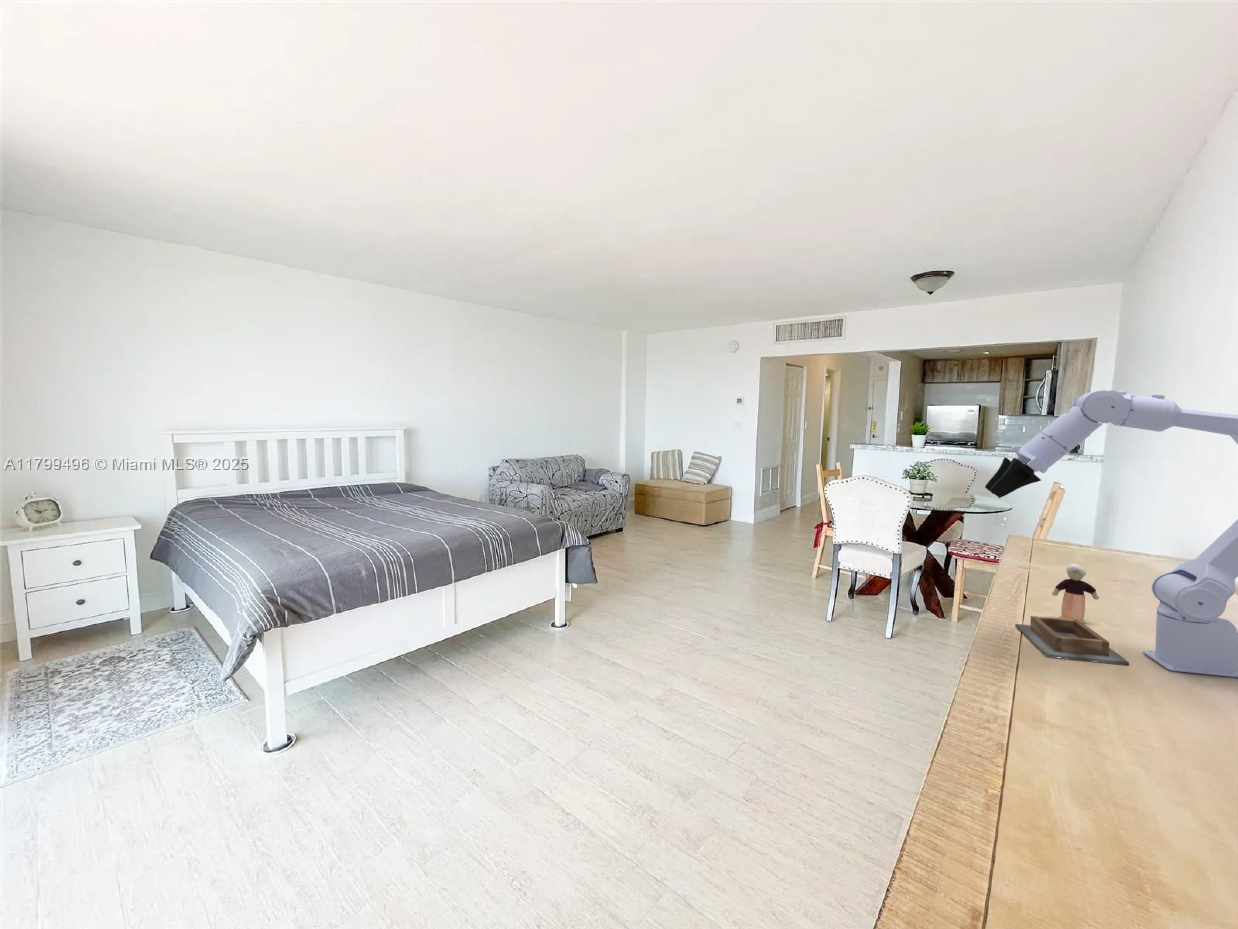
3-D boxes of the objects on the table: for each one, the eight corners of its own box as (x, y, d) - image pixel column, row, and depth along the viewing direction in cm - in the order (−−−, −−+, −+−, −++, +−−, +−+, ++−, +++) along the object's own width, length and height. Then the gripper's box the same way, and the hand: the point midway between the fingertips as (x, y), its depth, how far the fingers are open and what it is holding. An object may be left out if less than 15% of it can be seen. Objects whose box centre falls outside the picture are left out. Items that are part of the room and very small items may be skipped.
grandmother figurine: (1056, 622, 114) (1058, 565, 113) (1049, 616, 118) (1051, 560, 117) (1101, 626, 111) (1103, 567, 110) (1093, 620, 115) (1094, 563, 114)
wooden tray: (1084, 632, 108) (1085, 617, 108) (1128, 665, 93) (1129, 648, 93) (1015, 626, 112) (1015, 612, 112) (1046, 657, 97) (1047, 640, 97)
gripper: (1026, 429, 107) (970, 475, 112) (1043, 427, 94) (979, 480, 99) (1058, 452, 105) (999, 499, 110) (1079, 455, 92) (1011, 507, 97)
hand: (991, 492), depth 104 cm, fingers open, 7 cm apart
